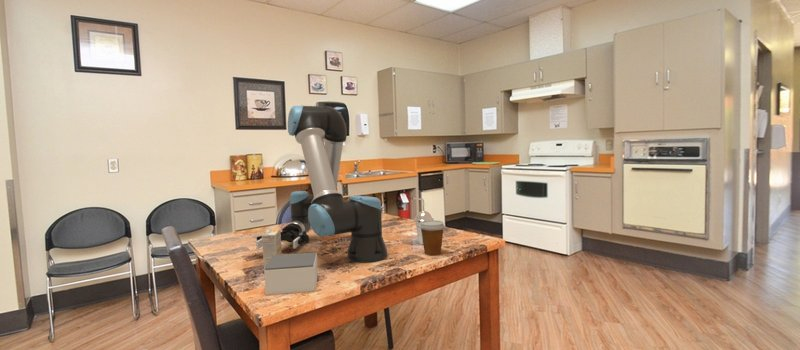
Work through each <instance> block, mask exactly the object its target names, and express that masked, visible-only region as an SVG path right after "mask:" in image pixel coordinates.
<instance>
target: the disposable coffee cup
mask: <svg viewBox="0 0 800 350" xmlns="http://www.w3.org/2000/svg"><path fill="white" fill-rule="evenodd" d="M420 228H421V232H422V239H423V245H422V246H423V250H424V251H423V252H424V254H425V255H426V256H438V255H440V254H442V245H443V236H444V235H443V234H444V229H445V225H444V222H443V221H441V220H434V219H433V220H430V221H423V222H421V225H420Z"/></svg>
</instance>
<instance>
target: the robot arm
mask: <svg viewBox="0 0 800 350" xmlns="http://www.w3.org/2000/svg"><path fill="white" fill-rule="evenodd" d="M288 112H289V113H288V117H287V118H288V119H287V133H288V135H289V136H292V137H294V138H295V141H296V142H297V143H298V144H300V145H301V149H302V154H303V158H304V161H305V166H306V170H307V174H308V178H309V183H310V186H311V190H312V194H308V193H309V192H307V191H306V190H297V191H295V190H294V191H292V192H291V193H290V198H289V205H290V223H289V224H287V225H285V226H284V227H283V229H282V230H281V242H283V241H284V242H287V243H292V248H293V249H297V248H298V247H299V246H300V245H302V244H304V243H305V244H309V243H310V236H309V234H308V233H309V230H310V229H311V230H312V231H313V232H314V234H316V235H317V236H318V237H332V236H335V235H341V234H348V233H350V234H351V235H350V236H351V237H350V241H349V244H348V248H347V253H346V254H347V256H346V257H347V260H349V261H351V262H352V261H353V262H358V263H372V262H377V261H382V260H385V259H386V258H388V248H387V245H386V243H385V240H384V237H383V224H382V223H383V221H382V217H383V216H382V211H383V209H382V202H381V199H379V198H378V197H375V196H368V195H351V196H349V199H348V200H344V196H343V194H342V193H340V192H339V191H338V190H337V186H338V179H339V171H340V167H341V166H340V165H341V159H342V153H343V146H344V143H345V142H346V140H347V133H348V130H347V124H346V122H345V120H344V117H343V115H342V114H341V113H340V111H338V109H336V108H334V107H332V106H329V105H328V106H327V105H325V106H322V105H321V106H320V105H317V106H316V105H302V104H301V105H293V106H292V107H291V108H290V110H289V111H288ZM255 248H256V250H260V249H262V248H263V246H262V235H260V236H256V241H255Z"/></svg>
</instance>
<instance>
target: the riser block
mask: <svg viewBox="0 0 800 350" xmlns="http://www.w3.org/2000/svg"><path fill="white" fill-rule="evenodd" d="M318 271H319V270H318V253H317V252H316V251H315V252H303V253H288V254H287V253H286V254H285V253H284V254H282V255H273V256H272V258H271V260H270V261H269V263H268V265H267V266H266V268H265V270H264V269H263V272H264V289H265V290H264V291H265V296H269V295H281V294H294V293H305V292H315V291H316V289H317V288H316V287H317V281H318V276H319V274H318Z"/></svg>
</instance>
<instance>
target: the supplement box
mask: <svg viewBox="0 0 800 350" xmlns="http://www.w3.org/2000/svg"><path fill="white" fill-rule="evenodd" d="M281 232H282V230H281V228H280V229H278V228H277V229H276V228H275V229H267V230H266V231H265V232H264V233H263V234H261V236H262V261H263V271H264V270H265V268H266V266H267V265H268V263H269V261H270V260H271V258H272V256H273V255H283V252H282V241H281Z"/></svg>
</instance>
